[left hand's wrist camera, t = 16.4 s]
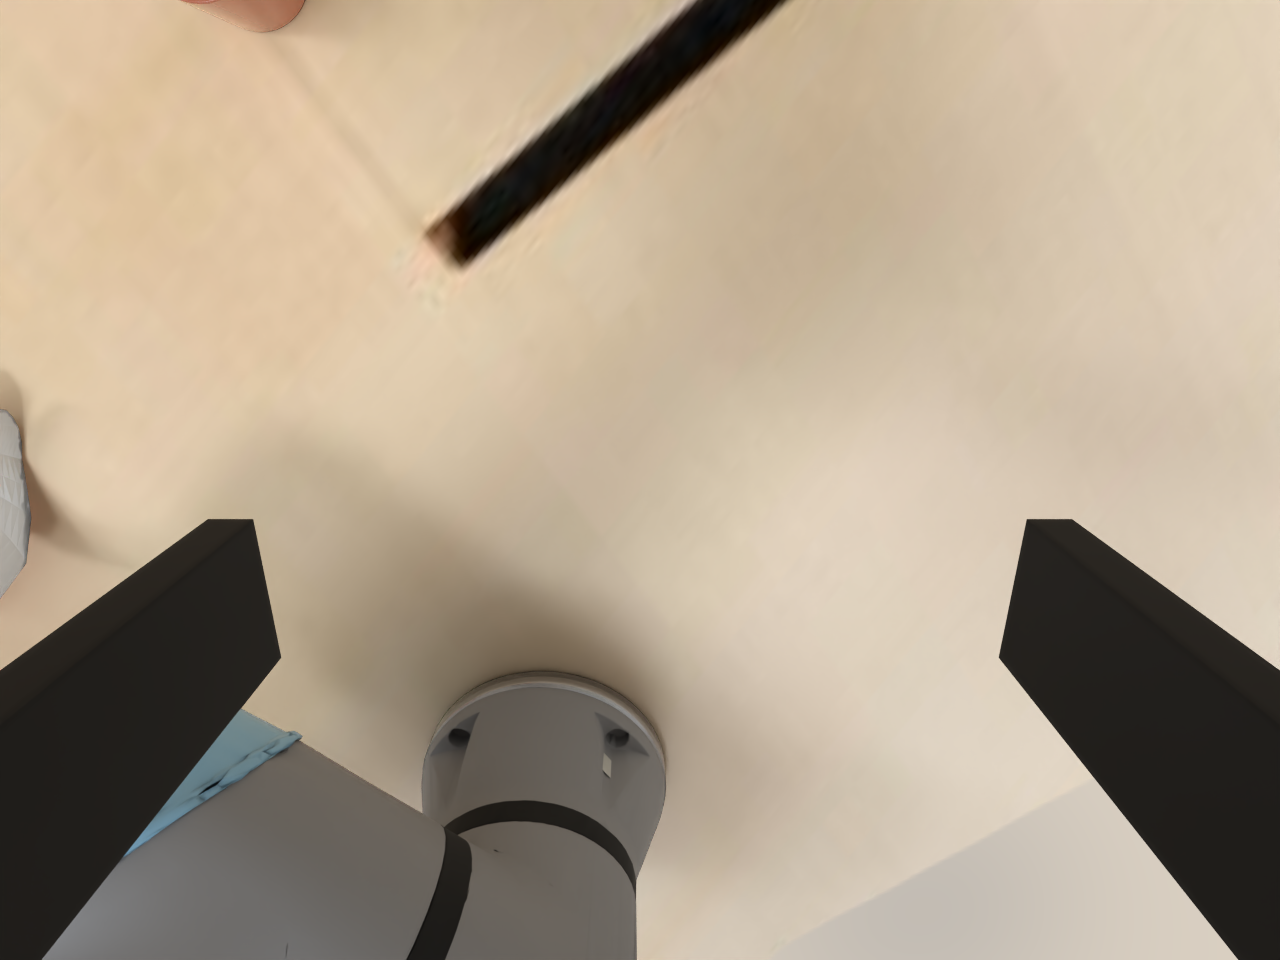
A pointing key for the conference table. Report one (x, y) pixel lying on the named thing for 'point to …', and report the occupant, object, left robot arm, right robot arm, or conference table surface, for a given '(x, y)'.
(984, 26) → the conference table surface
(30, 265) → the conference table surface
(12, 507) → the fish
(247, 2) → the glossy pink cylinder
